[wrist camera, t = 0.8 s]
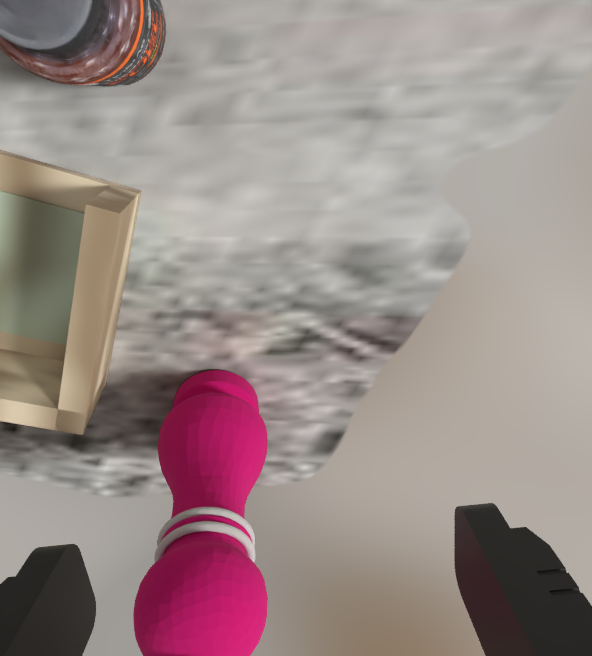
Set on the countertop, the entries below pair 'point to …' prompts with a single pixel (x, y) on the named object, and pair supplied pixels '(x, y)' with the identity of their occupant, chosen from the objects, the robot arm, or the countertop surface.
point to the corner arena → (59, 289)
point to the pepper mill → (206, 526)
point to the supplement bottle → (84, 39)
